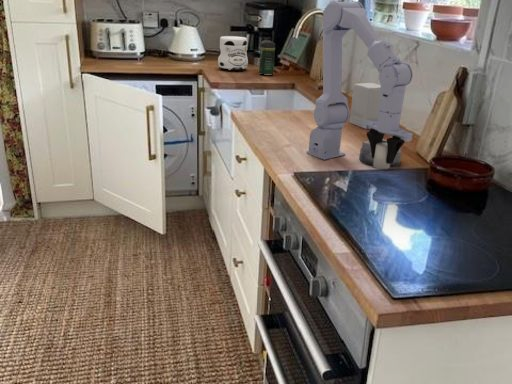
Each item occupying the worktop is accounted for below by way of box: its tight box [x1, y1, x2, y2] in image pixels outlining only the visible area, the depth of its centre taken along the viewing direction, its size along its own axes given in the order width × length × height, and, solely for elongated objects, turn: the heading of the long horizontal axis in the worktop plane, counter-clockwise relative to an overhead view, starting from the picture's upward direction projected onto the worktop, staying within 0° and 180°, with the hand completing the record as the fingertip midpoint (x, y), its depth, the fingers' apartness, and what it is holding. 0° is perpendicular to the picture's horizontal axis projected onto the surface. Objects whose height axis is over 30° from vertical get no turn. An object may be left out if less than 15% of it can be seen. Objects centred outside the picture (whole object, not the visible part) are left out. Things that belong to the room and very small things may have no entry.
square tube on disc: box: [358, 138, 402, 169], centre depth 147 cm, size 12×12×6 cm
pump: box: [372, 142, 390, 170], centre depth 134 cm, size 6×4×6 cm
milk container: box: [217, 35, 249, 71], centre depth 282 cm, size 17×17×18 cm
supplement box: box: [349, 82, 381, 129], centre depth 184 cm, size 9×9×15 cm
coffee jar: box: [258, 39, 276, 75], centre depth 272 cm, size 10×8×19 cm
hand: (382, 160), depth 134 cm, fingers closed on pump, 4 cm apart
